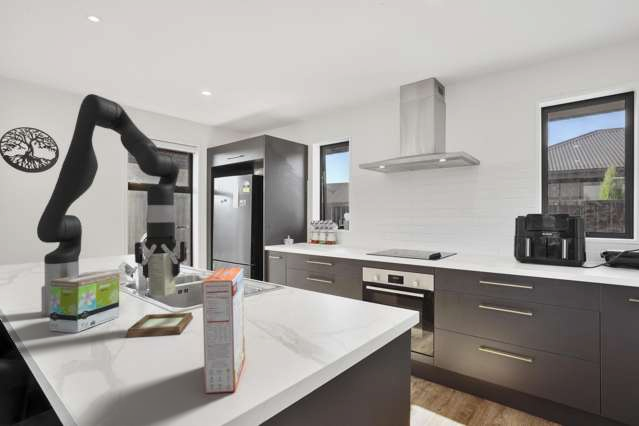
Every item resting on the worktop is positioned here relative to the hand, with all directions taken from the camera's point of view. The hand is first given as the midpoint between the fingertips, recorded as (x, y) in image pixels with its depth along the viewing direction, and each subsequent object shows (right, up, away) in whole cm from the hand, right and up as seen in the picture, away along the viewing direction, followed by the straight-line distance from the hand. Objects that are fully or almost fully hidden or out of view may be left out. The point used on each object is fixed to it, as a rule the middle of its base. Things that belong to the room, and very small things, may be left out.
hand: (161, 276), depth 97 cm
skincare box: (0, -5, 0) cm, 5 cm away
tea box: (-24, -15, +4) cm, 29 cm away
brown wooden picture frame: (0, -15, 0) cm, 15 cm away
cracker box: (+27, -15, -30) cm, 43 cm away
